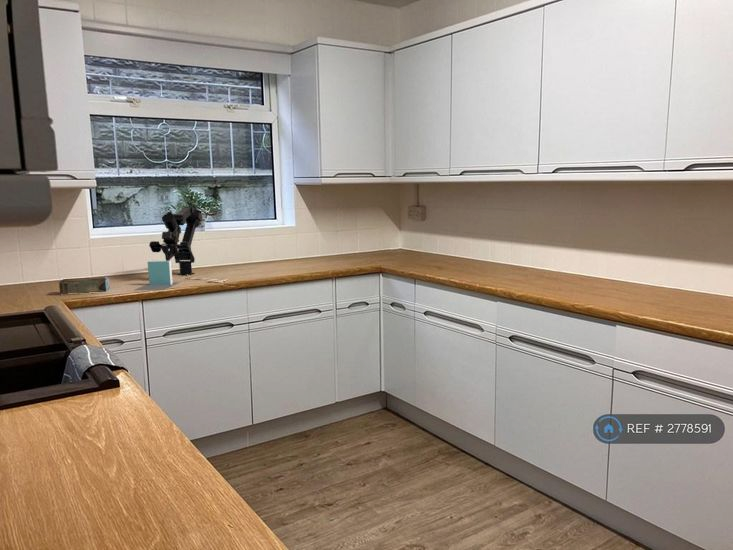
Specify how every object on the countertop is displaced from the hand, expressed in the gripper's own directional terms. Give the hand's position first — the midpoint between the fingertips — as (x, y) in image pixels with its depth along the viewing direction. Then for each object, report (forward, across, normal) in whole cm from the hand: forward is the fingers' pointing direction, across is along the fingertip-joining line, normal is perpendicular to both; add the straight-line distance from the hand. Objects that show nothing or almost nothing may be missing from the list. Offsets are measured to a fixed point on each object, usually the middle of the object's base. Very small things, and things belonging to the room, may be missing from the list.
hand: (167, 261), depth 281 cm
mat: (+16, 0, -3) cm, 16 cm away
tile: (+13, 0, 0) cm, 13 cm away
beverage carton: (+24, -28, -9) cm, 39 cm away
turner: (+6, +18, +8) cm, 20 cm away
